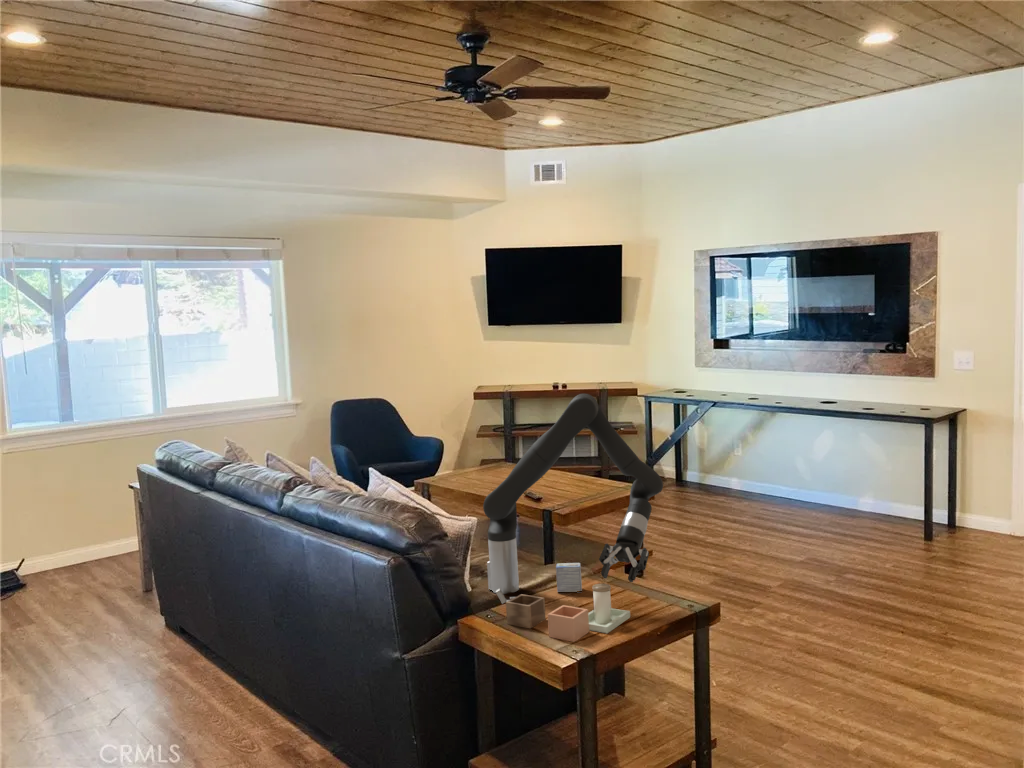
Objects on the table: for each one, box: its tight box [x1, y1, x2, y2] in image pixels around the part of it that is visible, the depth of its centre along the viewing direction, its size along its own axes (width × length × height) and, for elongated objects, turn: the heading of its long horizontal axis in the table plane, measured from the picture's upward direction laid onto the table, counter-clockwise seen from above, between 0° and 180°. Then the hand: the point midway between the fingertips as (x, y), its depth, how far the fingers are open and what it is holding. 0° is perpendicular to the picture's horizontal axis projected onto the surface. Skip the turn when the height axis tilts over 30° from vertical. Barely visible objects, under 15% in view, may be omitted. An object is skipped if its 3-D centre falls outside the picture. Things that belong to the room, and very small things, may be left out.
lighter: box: [495, 588, 516, 605], centre depth 227 cm, size 7×2×8 cm, turn 88°
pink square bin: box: [547, 604, 590, 643], centre depth 207 cm, size 8×8×7 cm
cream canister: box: [591, 583, 612, 624], centre depth 215 cm, size 5×5×10 cm
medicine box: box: [555, 562, 583, 593], centre depth 247 cm, size 8×4×9 cm, turn 84°
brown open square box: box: [505, 593, 546, 629], centre depth 219 cm, size 8×8×7 cm
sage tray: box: [588, 607, 631, 634], centre depth 215 cm, size 10×14×2 cm
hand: (616, 578), depth 222 cm, fingers open, 8 cm apart
